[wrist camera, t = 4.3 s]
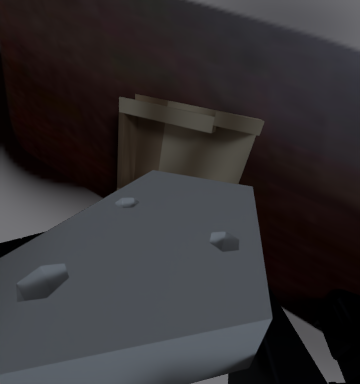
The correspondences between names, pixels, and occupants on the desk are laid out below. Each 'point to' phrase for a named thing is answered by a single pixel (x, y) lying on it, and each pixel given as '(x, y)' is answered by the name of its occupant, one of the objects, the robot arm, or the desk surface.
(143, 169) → the slotted track
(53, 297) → the white wedge bracket
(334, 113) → the desk surface
